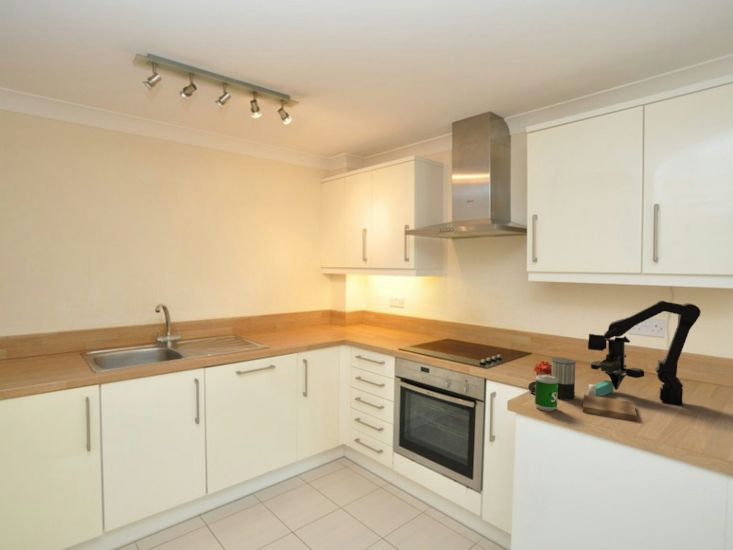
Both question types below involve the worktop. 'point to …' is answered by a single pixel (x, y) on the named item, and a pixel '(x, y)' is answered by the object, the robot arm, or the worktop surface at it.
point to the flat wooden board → (609, 407)
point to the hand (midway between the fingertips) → (616, 389)
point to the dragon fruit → (543, 368)
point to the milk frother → (562, 377)
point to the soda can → (546, 392)
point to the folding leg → (601, 388)
